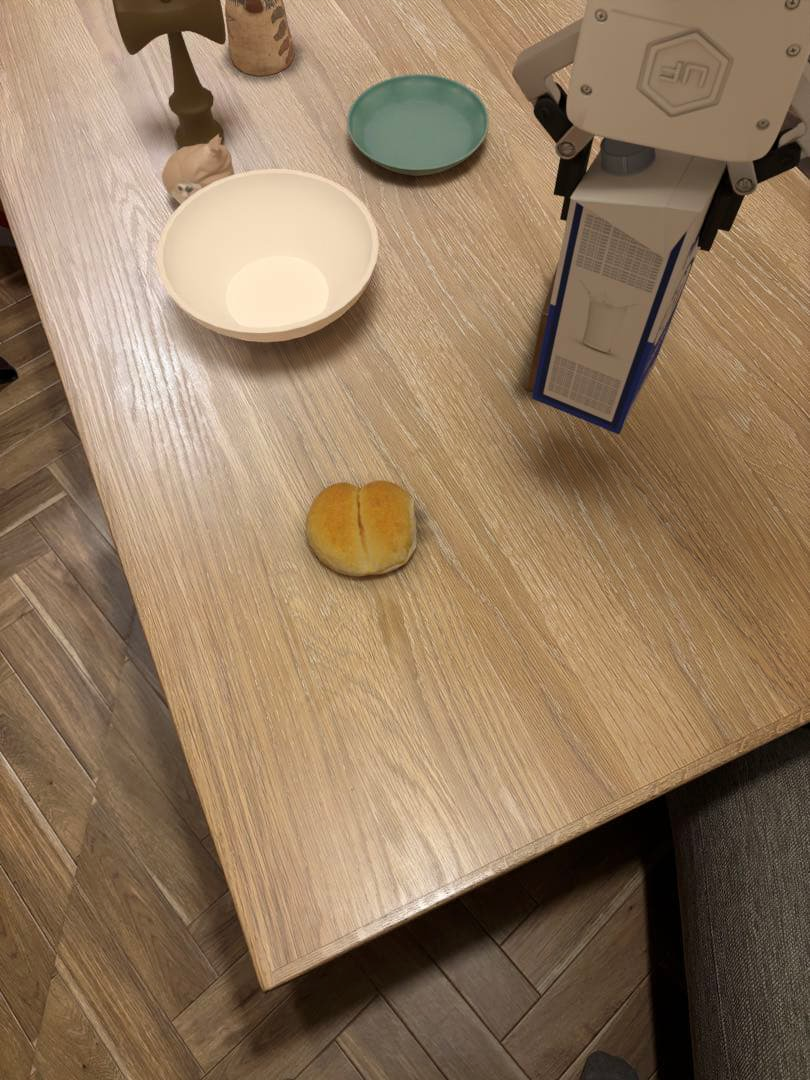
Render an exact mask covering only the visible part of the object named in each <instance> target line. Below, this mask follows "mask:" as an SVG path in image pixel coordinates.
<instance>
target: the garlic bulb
mask: <svg viewBox="0 0 810 1080" xmlns="http://www.w3.org/2000/svg"><path fill="white" fill-rule="evenodd" d="M221 138H222V137H219V134H218V135H217V136H215V137H214V138H213V139H212V140H210V141H209V143H208V144H197V145H194V146H188V147H182V148H179V149H178V150H176V151H175V152H174V153H173V154H172V155H171V156H169V158H168V159H167V161H166V163H165V166H163V171H162V172H161V180H162V184H163V187H164V189H165V191H166V192H167V194H168V195H169V196H171V197H172V198H174V199H175V201H176V202H177V203H179V204H180V205H181V204H182V203H183V202H184V201H185V200H187V199H188V198H189V197H190V196H192V195H193V194H194V193H196V192H197V191H198V190H200V189H202V188H204V187H206V186H208V185H209V184H211V183H213V182H215V181H217V180H220V179H223V178H226V177H228V176H231V175H234V174H235V171H234V167H233V163H232V160H233V159H232V158H233V157H232V155H231V152H230V151H229V149H228V148H227V147H225V146H224V145H222V142H221ZM220 142H221V144H220Z"/></svg>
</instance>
